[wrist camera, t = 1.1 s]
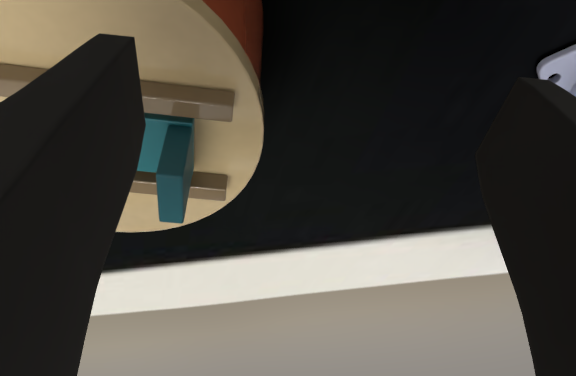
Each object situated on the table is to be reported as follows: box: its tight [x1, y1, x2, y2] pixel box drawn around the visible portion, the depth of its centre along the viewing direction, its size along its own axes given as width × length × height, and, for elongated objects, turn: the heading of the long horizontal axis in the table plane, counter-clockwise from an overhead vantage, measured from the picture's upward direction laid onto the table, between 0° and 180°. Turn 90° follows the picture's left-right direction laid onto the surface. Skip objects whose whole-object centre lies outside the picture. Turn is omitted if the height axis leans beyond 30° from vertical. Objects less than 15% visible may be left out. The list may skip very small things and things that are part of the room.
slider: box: [137, 113, 194, 224], centre depth 14 cm, size 3×2×2 cm
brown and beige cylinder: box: [0, 0, 265, 232], centre depth 16 cm, size 10×10×8 cm
